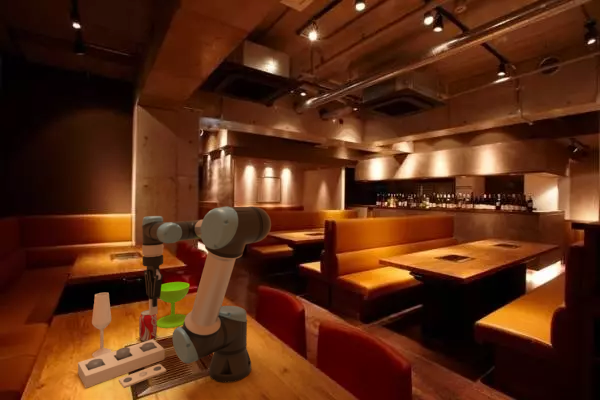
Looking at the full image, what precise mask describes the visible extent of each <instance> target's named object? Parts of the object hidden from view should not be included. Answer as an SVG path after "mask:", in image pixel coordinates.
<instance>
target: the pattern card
mask: <svg viewBox="0 0 600 400" xmlns="http://www.w3.org/2000/svg"><path fill="white" fill-rule="evenodd" d="M166 372H167V369H166V368H165V367H164V366H163V365H162V364H161V363H157V364H155V365H153V366H150V367H146V368H144V369H142V370H138V371H136V372H134V373H131V374H128V375H125V376H123V377H120V378H118V382H119V383H120V385H121V386H122V387H123V388H124V389H125V388H128V387H131V386H134V385H136V384H138V383H140V382H143V381H146V380H149V379H151V378H154V377H157V376H158V375H161V374H164V373H166Z"/></svg>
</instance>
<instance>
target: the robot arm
mask: <svg viewBox="0 0 600 400" xmlns="http://www.w3.org/2000/svg"><path fill="white" fill-rule="evenodd" d="M271 227H272V221H271V217H270V215H269V214H268V213H267V212H266V210H264V209H263V208H261V207H258V206H252V205H250V206H221V207H215V208H213V209H211V210H209V211H208V212H207V213H206V214H205V215H204V217H203V219H197V220H183V221H168V222H165V221H164V217H163V216H161V215H150V216H149V215H148V216H144V217H143V218H142V223H141V231H142V232H141V236H142V237H141V238H142V245H141V251H142V252H141V253H142V255H143V256H142V265H143V266H144V267H146V270H145V269H144V271H143V275H144V280H145V281H144V282H145V290H146V291H145V292H146V296H148V310H149V315H154V314H156V315H157V314H159V313H158V309H159V308H158V306H159V305H158V304H159V303H158V298H159V297H160V294H161V285H162V284H163V279H164V274H162V273H161V269H160V266H161V265H164V255H163V254H164V248H165V245H164V243H165V244H175V243H176V242H179V241H181V242H182V241H188V240H196V239H197V240H198V239H200V240H201V241H202V243H203V245H204V248H205V250H206V252H207V256H206V259H205V262H204V267H203V269H202V273H201V278H200V281H199V285H198V288H197V290H196V291H197V292H196V295H195V298H194V302H193V306H192V310H191V311H190V312H188V313H187V314H186V317H185V320H184V324H183V325H182V326H179V327H175V329H174V330H173V332H172V335H171V336H172V339H171V340H172V345H173V348H174V351H175V353H176V356H177V357H178V358H179V360H180V361H181V362H183V364H191V363H194V362H197V361H199V360H201V359H203V358H206V357H207V356H209V355H212V357H211V361H210V364H209V367H208V368H209V369H208V374H209V377H210V378H211V379H212V380H214V381H216V382H220V383H233V382H238V381H241V380H243V379H244V378H246V377H247V376H249V374H250V373H251V371H252V361H251V358H250V355H249V351H248V347H247V346H248V345H247V343H248V342H247V337H248V335H247V334H248V333H247V329H248V327H247V326H248V318H247V316H248V315H247V311H246V310H245V308H244V307H243V308H242V307H241V306H235V305H223V302H224V298H225V295H226V292H227V289H228V286H229V282H230V279H231V276H232V273H233V269H234V266H235V263H236V259H239V258H241V257H242V256H243V254H244V251H245V248H246V245H248V244H254V243H258V242H261V241H263V240H264V239H265V238H266V237H267V236H268V235H269V233H270V232H271V229H272V228H271Z"/></svg>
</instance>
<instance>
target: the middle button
mask: <svg viewBox="0 0 600 400" xmlns="http://www.w3.org/2000/svg"><path fill="white" fill-rule="evenodd" d="M127 347H128V346H126V347H122V348H121V347H120V348H119V349H117V350H115V351H116V359H117V361H118V360H121V359H124V358H127V357H130V348H127Z"/></svg>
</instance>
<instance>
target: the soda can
mask: <svg viewBox="0 0 600 400" xmlns="http://www.w3.org/2000/svg"><path fill="white" fill-rule="evenodd" d="M157 320H158V319H157V314H154V315H149V309H147V310H143V311H141V312H140V315H139V320H138V321H139V322H138V327H139V328H138V329H139V331H138V332H139V340H141V341H142V342H145V341H149V340H152V339H153V340H155V338H156V337H157V334H158V333H157V331H158V330H157V329H158V326H157Z"/></svg>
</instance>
